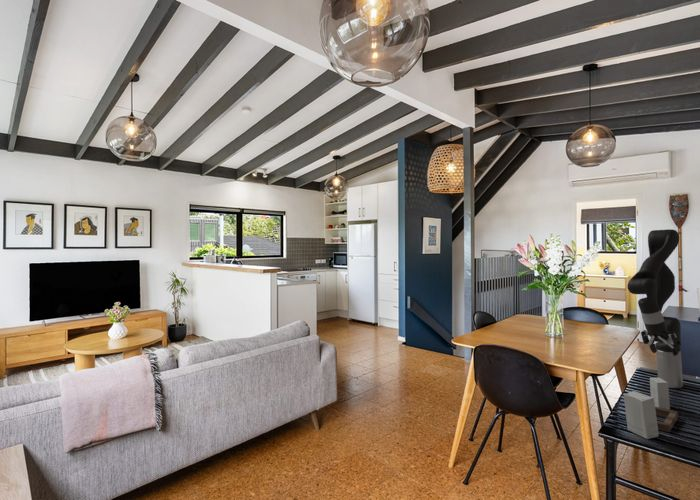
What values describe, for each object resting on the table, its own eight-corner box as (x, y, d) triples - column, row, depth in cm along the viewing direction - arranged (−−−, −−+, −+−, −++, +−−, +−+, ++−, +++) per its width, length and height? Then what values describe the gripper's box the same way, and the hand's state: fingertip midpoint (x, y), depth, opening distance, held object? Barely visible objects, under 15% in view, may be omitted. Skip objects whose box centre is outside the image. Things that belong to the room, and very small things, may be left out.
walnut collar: (636, 407, 166) (636, 402, 166) (678, 417, 155) (677, 411, 155) (625, 420, 157) (625, 414, 156) (669, 432, 146) (668, 426, 146)
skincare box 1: (659, 436, 144) (656, 398, 143) (646, 440, 142) (643, 401, 142) (637, 426, 152) (635, 389, 151) (625, 429, 150) (622, 392, 150)
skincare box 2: (670, 410, 161) (668, 382, 161) (659, 410, 162) (657, 382, 162) (661, 404, 167) (660, 377, 167) (650, 404, 168) (648, 377, 168)
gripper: (676, 318, 168) (688, 352, 168) (642, 316, 181) (653, 348, 181) (666, 324, 165) (678, 359, 165) (632, 322, 179) (643, 354, 179)
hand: (665, 353), depth 173 cm, fingers open, 8 cm apart
